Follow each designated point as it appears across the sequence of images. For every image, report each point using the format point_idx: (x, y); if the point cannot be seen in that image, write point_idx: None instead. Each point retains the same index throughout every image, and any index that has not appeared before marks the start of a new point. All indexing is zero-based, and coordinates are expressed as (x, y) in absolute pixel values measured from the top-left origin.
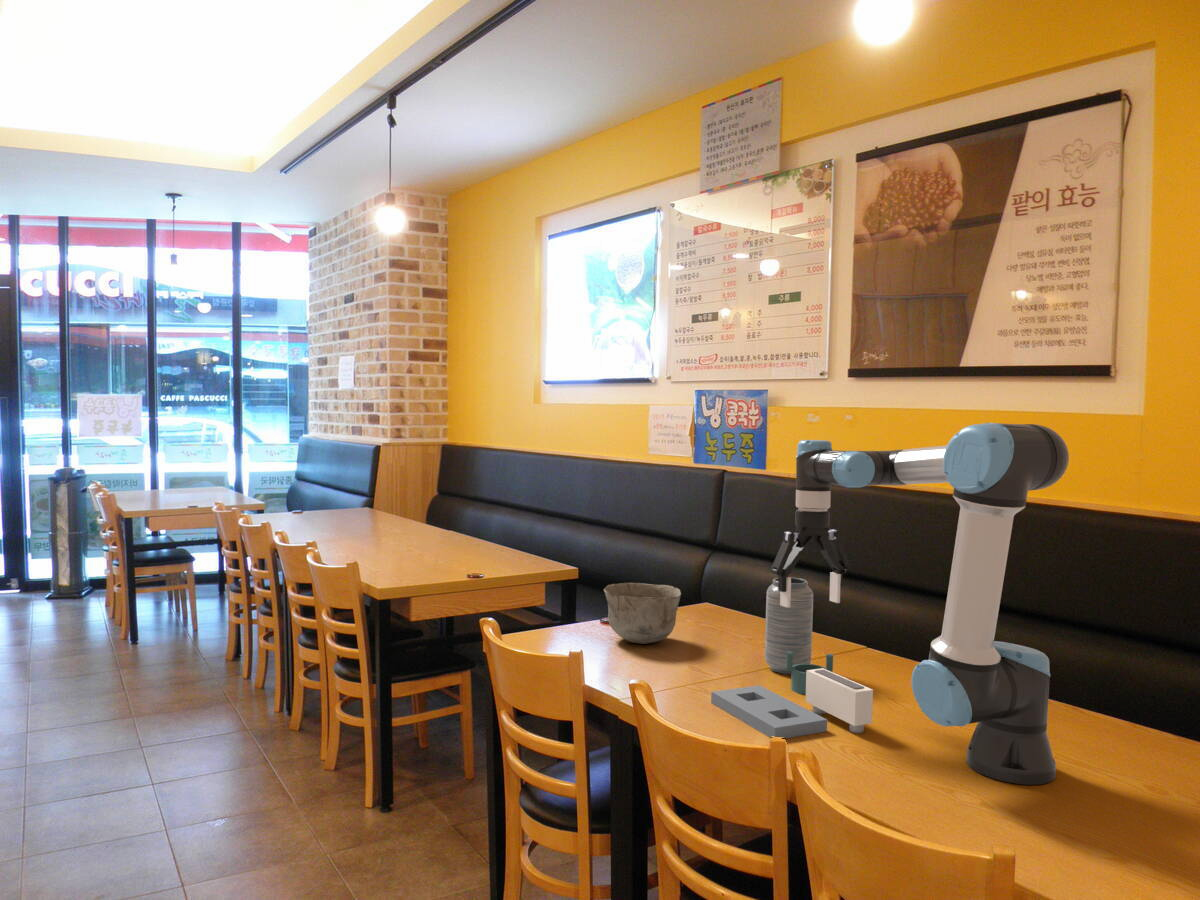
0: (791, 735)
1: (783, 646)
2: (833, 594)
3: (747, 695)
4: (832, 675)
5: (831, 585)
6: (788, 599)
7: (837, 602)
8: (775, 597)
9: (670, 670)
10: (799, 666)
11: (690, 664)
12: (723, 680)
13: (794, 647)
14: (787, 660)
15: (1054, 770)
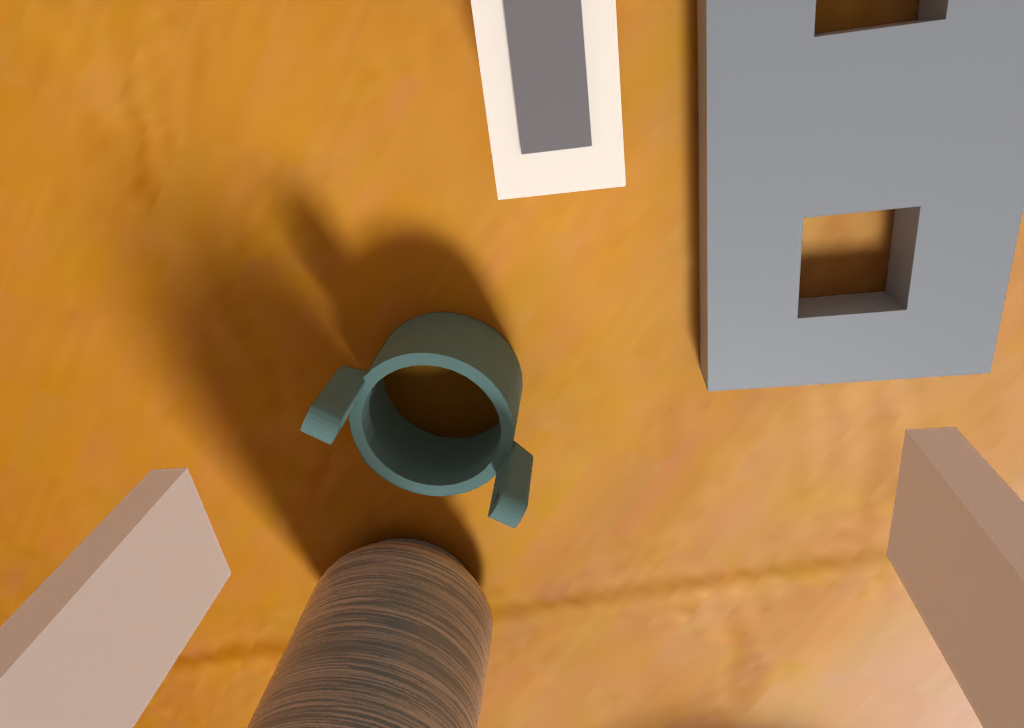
0: None
1: (444, 632)
2: (163, 586)
3: (830, 311)
4: (537, 9)
5: (114, 712)
6: (1002, 495)
7: (181, 470)
8: None
9: (849, 686)
10: (447, 480)
11: (734, 713)
12: (725, 555)
13: (399, 611)
14: (529, 481)
15: None
